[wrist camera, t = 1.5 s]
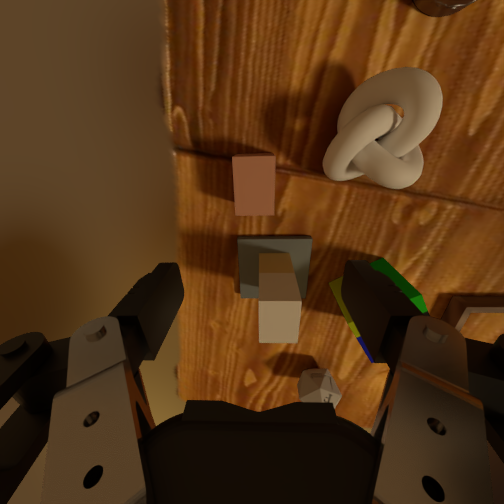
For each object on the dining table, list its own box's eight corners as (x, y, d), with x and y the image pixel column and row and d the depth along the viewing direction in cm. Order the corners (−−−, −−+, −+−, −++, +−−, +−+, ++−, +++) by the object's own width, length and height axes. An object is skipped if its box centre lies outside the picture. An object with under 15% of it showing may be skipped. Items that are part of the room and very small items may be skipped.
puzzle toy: (348, 317, 43) (371, 363, 34) (328, 282, 40) (347, 323, 31) (399, 296, 40) (439, 340, 32) (382, 257, 37) (421, 294, 28)
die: (339, 363, 50) (356, 411, 41) (317, 383, 54) (328, 431, 45) (308, 351, 48) (319, 398, 39) (287, 373, 52) (293, 420, 43)
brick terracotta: (236, 154, 30) (232, 156, 25) (272, 153, 30) (275, 155, 25) (239, 203, 33) (235, 215, 28) (271, 203, 33) (274, 215, 28)
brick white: (258, 272, 30) (258, 301, 25) (294, 272, 30) (301, 301, 25) (259, 310, 34) (259, 342, 28) (291, 310, 33) (297, 343, 28)
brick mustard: (259, 253, 36) (258, 272, 30) (289, 252, 36) (294, 272, 30) (259, 287, 39) (259, 310, 34) (287, 287, 39) (291, 310, 33)
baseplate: (238, 236, 36) (237, 239, 35) (310, 235, 35) (312, 238, 34) (241, 294, 41) (240, 298, 40) (304, 294, 41) (305, 298, 40)
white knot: (431, 122, 28) (501, 115, 20) (364, 202, 33) (398, 222, 25) (365, 66, 25) (413, 33, 17) (303, 162, 30) (319, 170, 22)
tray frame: (452, 296, 40) (466, 307, 37) (587, 296, 39) (611, 308, 36) (409, 380, 52) (417, 393, 49) (512, 382, 51) (526, 395, 48)
